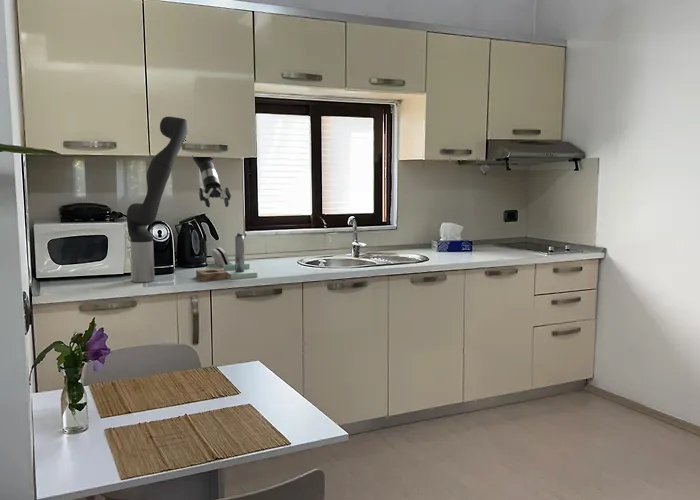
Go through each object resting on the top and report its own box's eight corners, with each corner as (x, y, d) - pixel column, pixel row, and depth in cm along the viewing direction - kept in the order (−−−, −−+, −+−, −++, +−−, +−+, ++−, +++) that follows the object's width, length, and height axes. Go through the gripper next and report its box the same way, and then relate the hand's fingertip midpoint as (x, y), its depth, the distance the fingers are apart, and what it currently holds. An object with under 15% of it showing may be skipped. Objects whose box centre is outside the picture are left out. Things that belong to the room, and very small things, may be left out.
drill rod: (236, 272, 282) (236, 234, 280) (234, 270, 286) (233, 233, 283) (245, 271, 284) (245, 233, 282) (242, 270, 287) (242, 232, 285)
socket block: (202, 281, 271) (202, 274, 271) (196, 277, 281) (196, 270, 281) (227, 279, 277) (227, 272, 276) (220, 275, 286) (220, 268, 286)
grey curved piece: (234, 267, 308) (227, 248, 305) (225, 271, 306) (217, 252, 304) (224, 262, 323) (217, 244, 320) (216, 265, 321) (209, 248, 318)
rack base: (231, 279, 277) (231, 269, 276) (223, 274, 287) (223, 265, 287) (257, 276, 282) (257, 267, 282) (248, 272, 293) (248, 263, 292)
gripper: (197, 175, 294) (204, 201, 286) (226, 174, 301) (234, 200, 293) (194, 186, 300) (201, 211, 291) (223, 185, 306) (231, 210, 298)
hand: (218, 206), depth 292 cm, fingers open, 8 cm apart
